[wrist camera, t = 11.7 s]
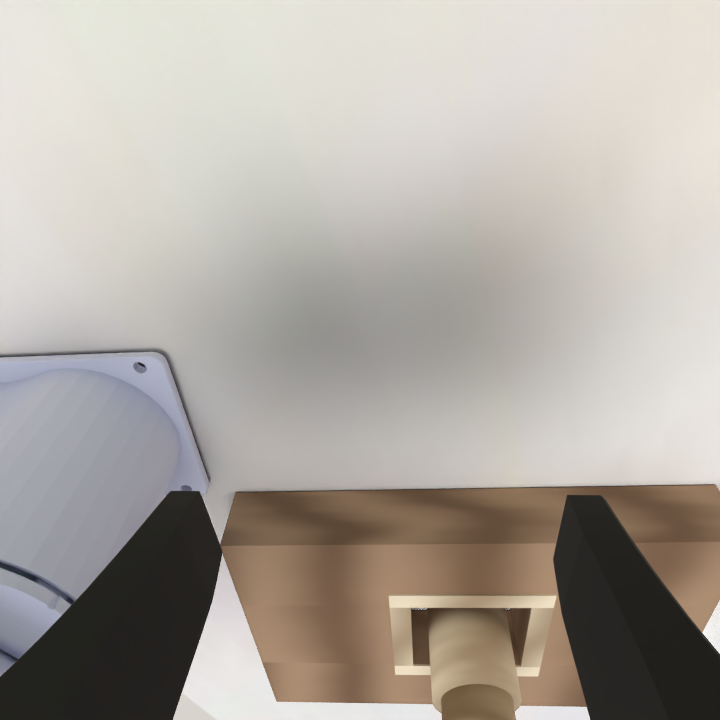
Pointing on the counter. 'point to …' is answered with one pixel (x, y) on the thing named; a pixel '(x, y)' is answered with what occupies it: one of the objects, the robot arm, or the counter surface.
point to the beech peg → (472, 664)
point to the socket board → (437, 579)
